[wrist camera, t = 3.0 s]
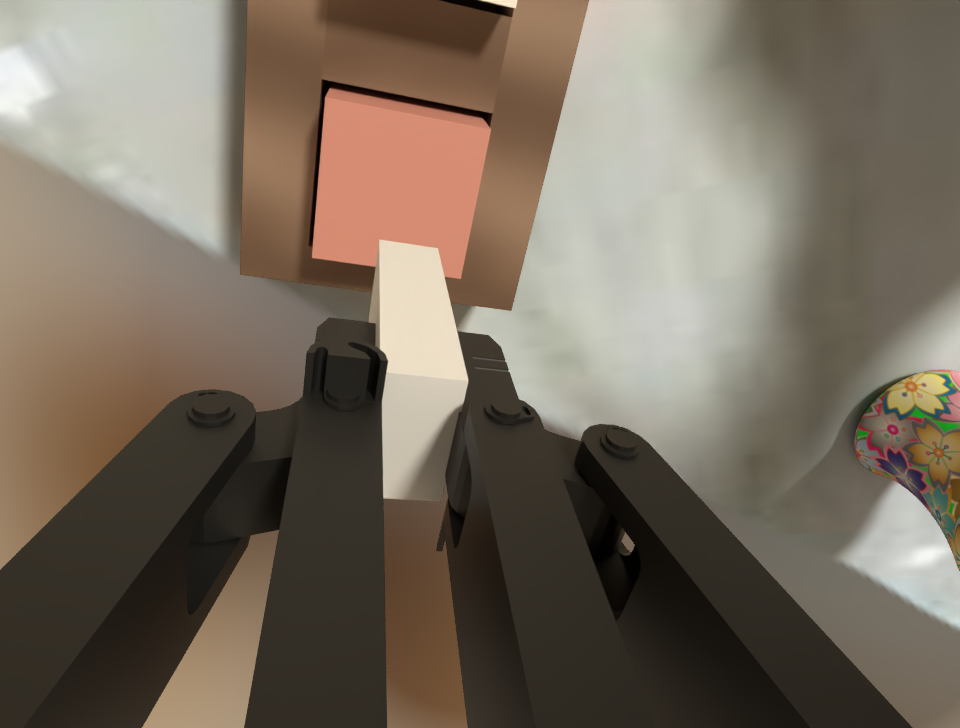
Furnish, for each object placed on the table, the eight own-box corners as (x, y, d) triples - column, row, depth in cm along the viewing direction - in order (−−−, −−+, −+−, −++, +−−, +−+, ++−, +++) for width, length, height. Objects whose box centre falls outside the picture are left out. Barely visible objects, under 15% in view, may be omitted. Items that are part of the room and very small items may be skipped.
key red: (332, 82, 26) (325, 97, 23) (477, 111, 27) (491, 129, 24) (320, 225, 29) (311, 257, 25) (451, 245, 30) (460, 278, 27)
